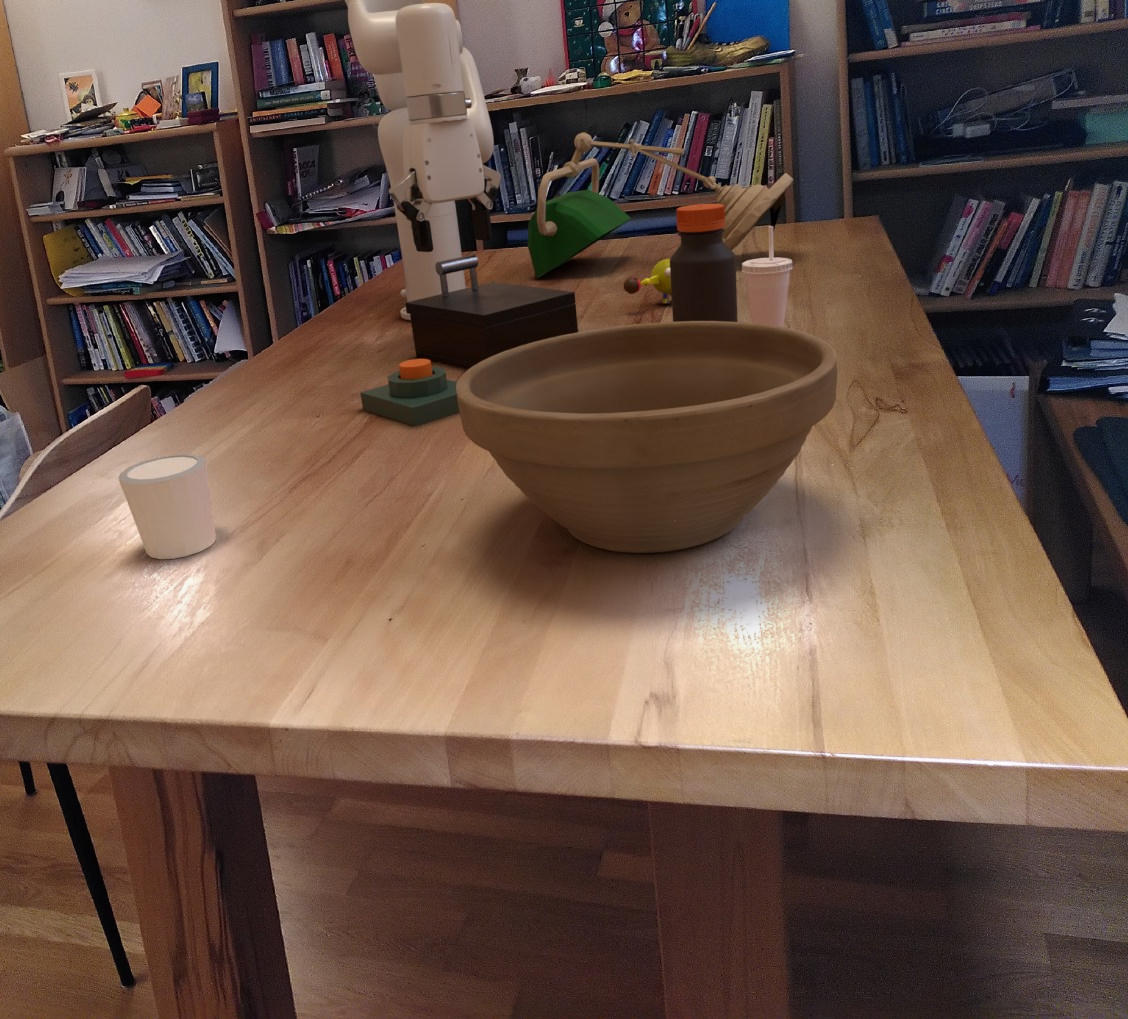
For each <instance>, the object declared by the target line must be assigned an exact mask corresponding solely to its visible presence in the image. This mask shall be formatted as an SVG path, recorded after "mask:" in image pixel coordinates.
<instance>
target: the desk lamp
mask: <svg viewBox="0 0 1128 1019" xmlns="http://www.w3.org/2000/svg"><path fill="white" fill-rule="evenodd" d="M573 144H574V147H575V150H574V153H573V156H572V158H571V160H570V161H568V162H565V163H564V164H563V166H562V168H558V169H555V170H551V171H548V172H546V173H545V174H544V175H543V176H542V178H541V182H540V184H539V187H538V189H537V191H538V192H537V207H536V209H535V211H534V212H533V214H532V215H531V218H530V219H529V221H528V224H527V226H528V227H527V249H528V252H529V255H530V259H531V263H532V267H533V271H534V274H535V278H536V279H538V278H541V277H542V276H544V275H546V274H548V273H549V272H550V271H552V270H554V269H556V268H558V267H559V266H561V265H564V263H567V262H568V261H570V260H571V259H573V258H574V257H575V256H578V255H579V254H581V253H582V252H583V251H585V250H586V249H588V248H589V247H591V246H593V245H595V243H597V242H598V241H600V240H602V239H603V238H605V237H607V236H608V235H609V234H611V233H612V232H614V231H616V230H617V229H618V228H620V227H621V226H623V225H625V224H626V223H628V222H629V221H630V220H632V218H631V217H630V216H629V215H628V214H627V213H626V212H625V211H623V210H622V208H620V207H619V206H618V205H617V204H616V203H615V202H614V201H612V200H611V199H610V198H609V197H607V196H605V195H602V194H600V193H599V188H600V164H599V162H598V160H597V158H593V157H592V158H588V159H586V160H585V159H584V160H581V158H582V156H583V154H584V153H587V152H590V150H591V149H592V147H603V148H613V149H624V150H629V152H630V153H631V158H636V157H637V156H636V153H635V152H639V153H640V154H643V155H645V156H647V157H649V158H651V159H654V160H656V161H658V162H661V163H662V164H665V165H667V166H669V167H672V168H674V169H676V170H678V171H680V172H683V173H684V174H687V175H688V176H690V177H692V178H695V179H698V180H699V181H702V184H703V186H704V187H705V188H709V189H710V190H713V191H715V193H716V195H715V198H716V204H723V205H724V206H725V227H724V228H723V229H725V232H723V233H722V236H723V239H724V240H723V242H724V243H725V244H726V245H727V246H728V247H729V248H730V249H731V250H732V251H733V250H734V249H735V248H736V247H738V245H739V244H740V243H741V242H742V241H743V240H744V239H745V238H746V237H747V236H748V234H749V233H750V232H751V231H752V230H753V229H754V228H755V226H757V225H758V223H759V222H760V221H761V220H762V219H763V217H764V216H766V214H767V213H768V212H769V214H770V215H769V216H770V226H773V233H774V232H775V229H776V225H777V222H778V219H779V215H780V211H781V208H782V205H783V202H784V198H785V195H786V191H787V190H788V189H789V188H790V187H791V185H792V184H793V183H794V178H793V177H791V175H789V174H788V173H787V172H785V173H784V174H783V175H782V176H780V178H779V179H778V180H777V181H775V182H774V183H773V185H772V186H771V187H770V188H768V187H767V184H765V185H762V184H754V185H751V184H749V185H748V186H747V187H742V185H741V184H739V183H737V182H735V183H734V184H733V185H727V184H725V185H724V186H722V185H720V184H719V183H718V184H717V183H716V181H717V178H716V177H715V176H714V175H710V176H708V177H707V176H705V175H702V174H700V173H698V172H696V171H693V170H691V169H689V168H687V167H684V166H682V165H680V164H678V163H675V162H673V161H671V160H669V159H667V158H664V157H662V156H659V155H658V154H656V153H665V154H672V155H677V156H684V154H685V149H684V148H681V147H680V148H679V147H672V148H671V147H663V146H662V147H660V146H651V145H643V144H641V143H637V142H635V140H634V139H633V138H630V139H629V143H619V142H607V141H597V140H593V139H592V136H591V135H590V134H588V133H586V132H580V133H578V134H577V135H576V136H575V138H574V142H573ZM653 152H654V153H653ZM580 160H581V161H580ZM589 168H591V189H584V190H577V191H576V190H575V191H570V192H566V193H564V194H561V195H558V196H556V197H554V198H552V199H551V198H550V199H549V200H547V196H548V187H549V185H550V182H553V181H555V180H557V179H560V178H563V177H566V178H574V177H576V176H577V175H580V174H581V172H582V171H584V170H587V169H589Z"/></svg>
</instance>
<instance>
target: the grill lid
mask: <svg viewBox="0 0 1128 1019" xmlns="http://www.w3.org/2000/svg"><path fill="white" fill-rule="evenodd" d="M478 266H479V259H478V256H477V255H476V254H469V255H463V256H462V257H458V258H453V259H449V260H444V261H439V262H437V263H436V264H435V269H436V272H437V274H438V275H439V276H440V283H441V290H442V294H440V295H435V296H431V297H427V298H423V299H418V300H414V301H410V302H407V301H406V302H404V303H405V307H406V312H407V314H413V315H419V316H424V317H430V318H436V319H442V320H447V321H453V322H459V323H465V324H470V325H476V326H482V327H488V326H491V325H495V324H499V323H503V322H506V321H510V320H514V319H518V318H522V317H525V316H529V315H533V314H537V313H540V312H544V311H548V310H552V309H556V308H559V307H563V306H567V305H571V304H576V292H575V291H570V290H561V289H553V288H545V287H537V286H529V285H521V284H512V283H503V282H496V281H491V282H486V283H483V284H479V282H478V274H477V268H478ZM462 270H464V271H466V270H467V271H468V270H469V278H470V286H469V287H466V288H465V289H461V290H457V291H452V292H448V284H447V277H446V274H449V273H453V272H458V271H462Z"/></svg>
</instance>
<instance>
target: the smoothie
mask: <svg viewBox="0 0 1128 1019" xmlns="http://www.w3.org/2000/svg"><path fill="white" fill-rule="evenodd" d="M774 254H775V252H774V232H773V226H771V225H769V226H768V257H760V258H759V257H758V258H753V259H748V260H746V261H743V262H742V263H741V273H743V274H744V280H745V287H746V293H747V300H748V308H749V314H750V320H751V323H757V324H767V325H774V326H779V327H784V328H785V319H786V310H787V302H788V294H789V285H790V274H791V271H792V270H793V260H792V259H791V258H787V257H774V256H775V255H774Z"/></svg>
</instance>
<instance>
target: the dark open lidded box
mask: <svg viewBox="0 0 1128 1019" xmlns="http://www.w3.org/2000/svg"><path fill="white" fill-rule="evenodd" d="M410 318H411V320H410V324H411V331H412V336H413V344H414V350H415V357H416V359H428V360H430V361H431V362H434V363H439V364H442V365H447V366H452V367H455V368H456V367H457V368H461V369H465V370H468V369H470V368H471V367H473V366H474V365H476V364H478V363H479V362H481V361H483V360H485V359H487V358H489V357H492V356H494V355H496V354H499V353H501V352H504V351H507V350H510V349H513V348H516V347H519V346H522V345H525V344H529V343H532V342H536V341H540V340H544V339H548V338H553V337H557V336H562V335H567V334H572V333H577V332H579V326H578V325H579V324H578V315H577V304H576V303H574V304H571V305H567V306H563V307H559V308H556V309H552V310H548V311H544V312H540V313H537V314H533V315H529V316H525V317H522V318H518V319H514V320H510V321H506V322H503V323H499V324H495V325H491V326H488V327H482V326H476V325H470V324H465V323H459V322H453V321H447V320H442V319H436V318H430V317H424V316H419V315H413V314H410Z"/></svg>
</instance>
